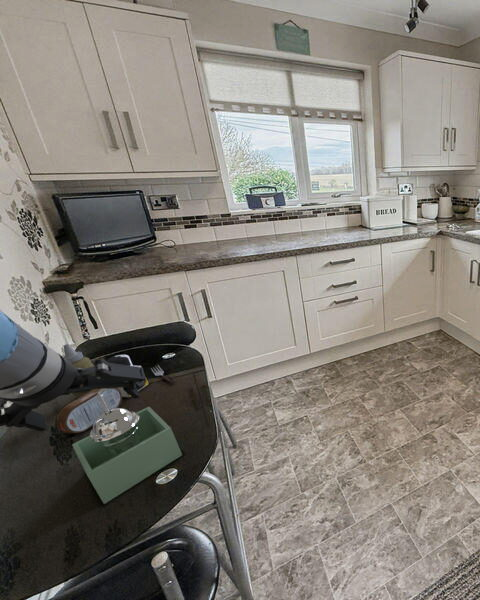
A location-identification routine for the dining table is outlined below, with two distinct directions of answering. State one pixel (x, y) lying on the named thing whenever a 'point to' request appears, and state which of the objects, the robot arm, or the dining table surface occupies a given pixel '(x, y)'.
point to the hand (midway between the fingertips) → (92, 406)
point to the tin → (86, 410)
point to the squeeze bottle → (77, 363)
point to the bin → (129, 457)
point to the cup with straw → (115, 428)
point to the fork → (161, 374)
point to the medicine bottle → (126, 361)
